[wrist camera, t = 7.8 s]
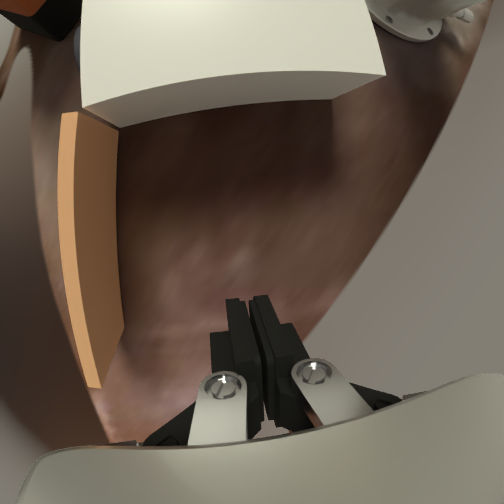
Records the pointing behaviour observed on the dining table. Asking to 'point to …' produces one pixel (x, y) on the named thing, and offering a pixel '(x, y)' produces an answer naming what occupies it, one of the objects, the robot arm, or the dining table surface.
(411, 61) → the dining table surface
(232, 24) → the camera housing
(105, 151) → the side door
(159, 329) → the dining table surface
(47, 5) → the battery
